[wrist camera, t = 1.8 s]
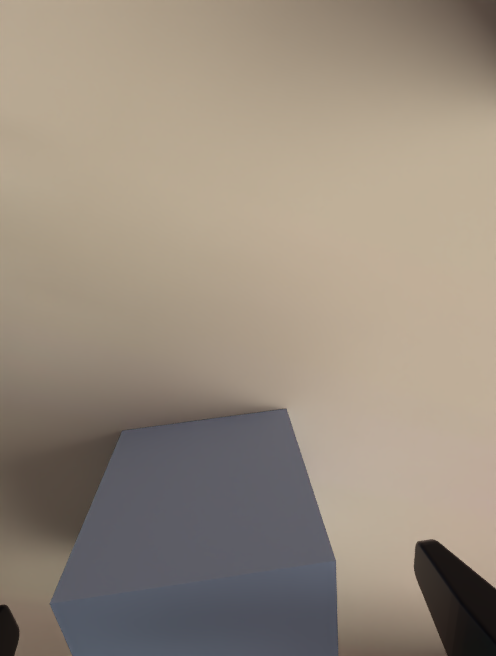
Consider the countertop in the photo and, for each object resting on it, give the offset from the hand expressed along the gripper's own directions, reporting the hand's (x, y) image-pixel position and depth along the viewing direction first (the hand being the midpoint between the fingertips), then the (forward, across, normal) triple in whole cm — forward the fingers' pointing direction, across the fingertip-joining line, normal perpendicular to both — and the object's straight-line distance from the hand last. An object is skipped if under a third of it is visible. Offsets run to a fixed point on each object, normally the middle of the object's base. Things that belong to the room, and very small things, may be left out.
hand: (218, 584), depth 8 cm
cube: (+3, 0, 0) cm, 3 cm away
